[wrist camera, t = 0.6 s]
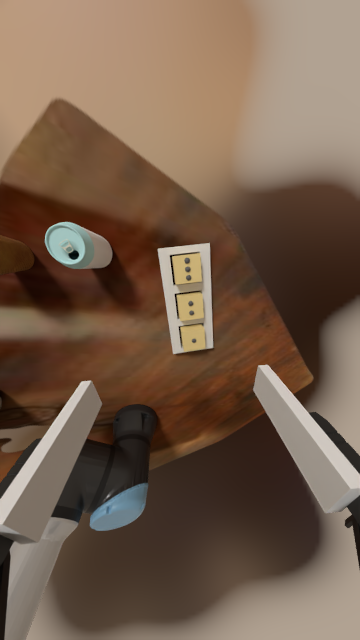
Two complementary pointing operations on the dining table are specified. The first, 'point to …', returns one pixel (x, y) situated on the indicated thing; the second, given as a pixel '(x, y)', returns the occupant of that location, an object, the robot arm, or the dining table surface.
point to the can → (77, 246)
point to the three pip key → (187, 268)
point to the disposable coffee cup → (14, 256)
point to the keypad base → (172, 289)
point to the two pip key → (190, 306)
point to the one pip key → (193, 337)
